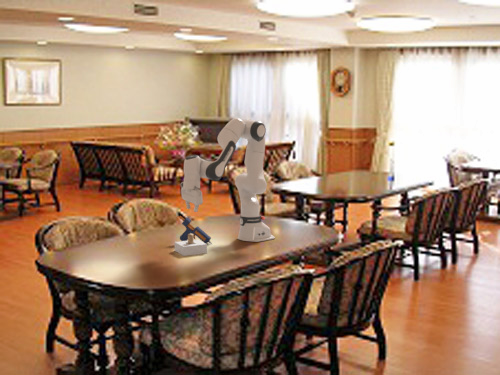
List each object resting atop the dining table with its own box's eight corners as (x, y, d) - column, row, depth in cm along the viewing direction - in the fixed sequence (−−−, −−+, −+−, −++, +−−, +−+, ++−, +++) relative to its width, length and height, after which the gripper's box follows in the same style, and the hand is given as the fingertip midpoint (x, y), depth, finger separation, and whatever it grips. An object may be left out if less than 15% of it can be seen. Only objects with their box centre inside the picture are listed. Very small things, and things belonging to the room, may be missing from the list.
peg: (191, 251, 368) (192, 233, 366) (194, 252, 365) (194, 234, 364) (186, 251, 366) (187, 233, 365) (189, 252, 364) (189, 235, 362)
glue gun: (201, 258, 386) (213, 242, 382) (168, 231, 387) (179, 215, 383) (204, 255, 390) (216, 240, 387) (170, 228, 392) (182, 213, 388)
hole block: (197, 248, 374) (197, 239, 373) (206, 253, 364) (206, 244, 363) (174, 250, 367) (174, 242, 367) (183, 255, 357) (183, 246, 356)
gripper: (205, 187, 354) (205, 213, 356) (189, 182, 371) (189, 206, 374) (194, 188, 351) (194, 214, 353) (179, 183, 368) (179, 207, 371)
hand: (192, 210), depth 363 cm, fingers open, 8 cm apart
